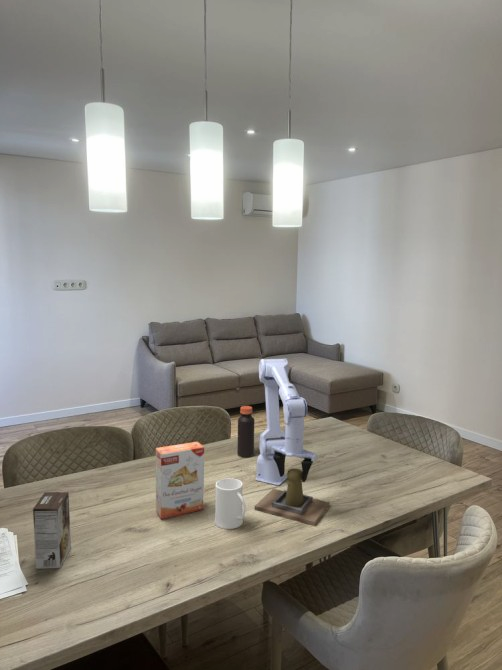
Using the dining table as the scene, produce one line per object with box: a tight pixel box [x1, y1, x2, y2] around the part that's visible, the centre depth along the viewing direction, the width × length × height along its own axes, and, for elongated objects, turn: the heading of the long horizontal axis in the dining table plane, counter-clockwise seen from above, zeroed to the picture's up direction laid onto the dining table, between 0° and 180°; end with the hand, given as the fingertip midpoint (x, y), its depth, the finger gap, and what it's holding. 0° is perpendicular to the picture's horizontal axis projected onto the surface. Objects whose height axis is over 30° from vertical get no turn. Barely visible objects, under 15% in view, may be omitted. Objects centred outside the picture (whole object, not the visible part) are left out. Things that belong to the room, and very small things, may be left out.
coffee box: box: [32, 491, 72, 570], centre depth 122 cm, size 9×6×16 cm
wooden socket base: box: [254, 488, 330, 527], centre depth 151 cm, size 20×14×3 cm
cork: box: [285, 467, 304, 507], centre depth 151 cm, size 6×6×11 cm
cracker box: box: [155, 441, 205, 520], centre depth 147 cm, size 14×6×21 cm, turn 118°
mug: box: [214, 477, 247, 530], centre depth 140 cm, size 12×8×12 cm
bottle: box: [237, 405, 255, 458], centre depth 194 cm, size 7×7×20 cm
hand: (293, 478), depth 150 cm, fingers open, 7 cm apart
